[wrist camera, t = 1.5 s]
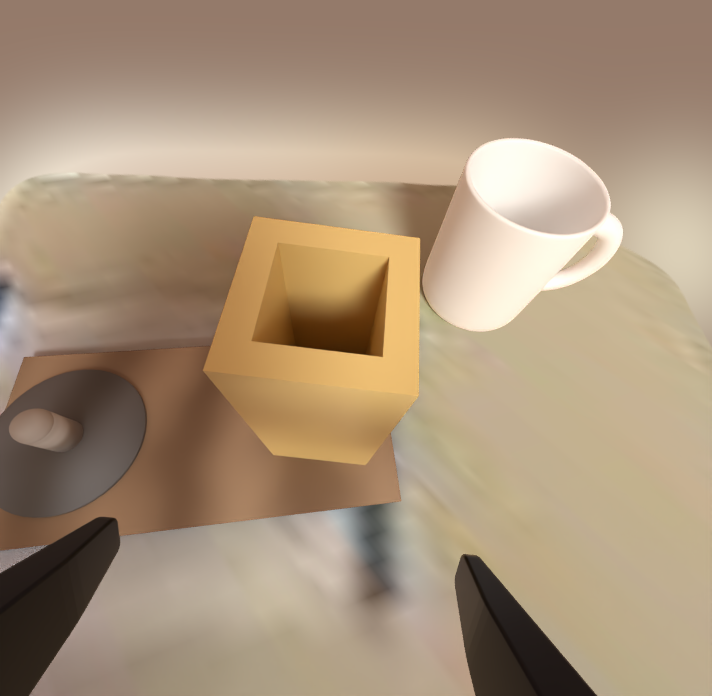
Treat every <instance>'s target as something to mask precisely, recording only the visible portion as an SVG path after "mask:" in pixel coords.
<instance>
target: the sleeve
mask: <svg viewBox="0 0 712 696" xmlns="http://www.w3.org/2000/svg"><path fill="white" fill-rule="evenodd" d="M419 302H420V238H415V237H407V236H399V235H392V234H384V233H377V232H369V231H362V230H354V229H346V228H339V227H331V226H324V225H316V224H309V223H301V222H293V221H286V220H278V219H271V218H263V217H256V216H254V217H253V220H252V223H251V226H250V229H249V232H248V235H247V238H246V241H245V244H244V247H243V251H242V254H241V257H240V260H239V263H238V266H237V269H236V272H235V275H234V278H233V281H232V284H231V287H230V290H229V293H228V296H227V299H226V302H225V305H224V308H223V311H222V314H221V317H220V320H219V323H218V326H217V329H216V332H215V335H214V338H213V341H212V344H211V348H210V351H209V354H208V357H207V360H206V363H205V366H204V369H203V371H204V373H205V374H206V375H207V376H208V377H209V379H210V380H211V381H212V382H213V383H214V385H215V386H216V387H217V388H218V389H219V391H220V392H221V393H222V394H223V395H224V397H225V398H226V399H227V400H228V401H229V403H230V404H231V405H232V406H233V407H234V409H235V410H236V411H237V412H238V413H239V415H240V416H241V417H242V418H243V419H244V421H245V422H246V423H247V424H248V425H249V427H250V428H251V429H252V430H253V431H254V433H255V434H256V435H257V436H258V437H259V439H260V440H261V441H262V442H263V443H264V445H265V446H266V447H267V448H268V449H269V451H270V452H271V453H272V454H273V455H278V456H287V457H296V458H305V459H314V460H323V461H332V462H341V463H350V464H359V465H366V464H367V463H368V461H369V460H370V459H371V458H372V456H373V455H374V454H375V452H376V451H377V450H378V448H379V447H380V446H381V445H382V443H383V442H384V441H385V439H386V438H387V437H388V435H389V434H390V433H391V431H392V430H393V429H394V428H395V426H396V425H397V424H398V422H399V421H400V420H401V418H402V417H403V416H404V414H405V413H406V412H407V411H408V409H409V408H410V407H411V405H412V404H413V403H414V401H415V400H416V399H417V398H418V396H419Z"/></svg>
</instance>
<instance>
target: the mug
mask: <svg viewBox="0 0 712 696" xmlns="http://www.w3.org/2000/svg"><path fill="white" fill-rule="evenodd" d="M610 205H611V203H610V197H609V193H608V191H607V189H606V187H605V185H604V183H603V182H602V180H601V179H600V178H599V176H598V175H597V174H596V173H595V172H594V171H593V170H592V169H591V168H590V167H589V166H587V165H586V164H585V163H584V162H583V161H581V160H580V159H578V158H577V157H575V156H573V155H572V154H570V153H568V152H566V151H564V150H562V149H560V148H557V147H555V146H553V145H550V144H547V143H543V142H539V141H535V140H529V139H522V138H505V139H498V140H493V141H490V142H488V143H485V144H483V145H481V146H480V147H478V148H477V149H476V150H475V151H473V153H472V154H471V155H470V156H469V158H468V160H467V162H466V165H465V167H464V169H463V172H462V175H461V177H460V180H459V182H458V185H457V187H456V190H455V192H454V195H453V197H452V200H451V202H450V205H449V207H448V210H447V212H446V215H445V217H444V220H443V222H442V225H441V227H440V230H439V232H438V235H437V238H436V240H435V243H434V245H433V248H432V250H431V253H430V255H429V258H428V260H427V263H426V266H425V269H424V273H423V279H422V286H423V291H424V295H425V297H426V300H427V301H428V303H429V305H430V306H431V308H432V309H433V310H434V311H435V312H436V313H437V314H438V315H439V316H440V317H441V318H442V319H444V320H445V321H447V322H448V323H450V324H452V325H454V326H456V327H459V328H462V329H465V330H470V331H490V330H494V329H497V328H500V327H502V326H504V325H506V324H507V323H509V322H510V321H511V320H513V319H514V318H515V317H516V316H517V315H518V314H519V313H520V312H521V311H522V310H523V309H524V308H525V307H526V306H527V304H528V303H529V302H530V301H531V300H532V299H533V298H534V297H535V296H536V295H537V294H538V293H539V292H540V291H542V290H553V289H558V288H562V287H566V286H569V285H571V284H574V283H576V282H578V281H580V280H583V279H584V278H586V277H588V276H590V275H591V274H593V273H594V272H596V271H597V270H599V269H600V268H601V267H602V266H603V265H605V264H606V263H607V262H608V261H609V260H610V259H611V258H612V256H613V255H614V254H615V253H616V251H617V249H618V247H619V246H620V244H621V240H622V237H623V228H622V225H621V223H620V221H619V220H618V219H617V218H616V217H615V216H614V215H613V214H612V213H610ZM593 235H594V236H596V237H597V241H596V244H595V245H594V247H593V248H592V250H591V251H590V252H589V253H588V254H587V255H586V256H585V257H583V258H582V259H581V260H579V261H578V262H577V263H575V264H573V265H571V266H569V267H567V268H565V269H562V268H563V266H564V265H565V264H566V263H567V262H568V261H569V260H570V259H571V258H572V257H573V256H574V255H575V254H576V253H577V252H578V251H579V250H580V249H581V248H582V246H583V245H584V244H585V243H586V242H587V241H588V240H589V239H590V238H591V237H592V236H593ZM561 269H562V270H561Z"/></svg>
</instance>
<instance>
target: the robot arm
mask: <svg viewBox="0 0 712 696" xmlns="http://www.w3.org/2000/svg"><path fill="white" fill-rule="evenodd" d="M119 546H120V536H119V527H118V521H117V519H116V518H112V517H97V518H95V519H93V520H92V521H90V522H88V523H86V524H85V525H83V526H81V527H79V528H78V529H76V530H74V531H72V532H71V533H69V534H67V535H66V536H64V537H62V538H60V539H59V540H57V541H55V542H53V543H52V544H50V545H48V546H46V547H45V548H43V549H41V550H40V551H38V552H36V553H34V554H33V555H31V556H29V557H27V558H26V559H24V560H22V561H20V562H19V563H17V564H15V565H14V566H12V567H10V568H8V569H7V570H5V571H3V572H1V573H0V696H29V695H30V693H31V692H32V690H33V689H34V687H35V686H36V684H37V683H38V681H39V680H40V678H41V677H42V675H43V674H44V672H45V671H46V669H47V668H48V666H49V665H50V663H51V662H52V660H53V659H54V657H55V656H56V654H57V653H58V651H59V650H60V648H61V647H62V645H63V644H64V642H65V641H66V639H67V638H68V636H69V635H70V633H71V632H72V630H73V629H74V627H75V626H76V624H77V623H78V621H79V619H80V618H81V616H82V614H83V613H84V611H85V609H86V608H87V606H88V604H89V602H90V600H91V599H92V597H93V595H94V593H95V591H96V590H97V588H98V586H99V584H100V582H101V581H102V579H103V577H104V575H105V573H106V572H107V570H108V568H109V566H110V565H111V563H112V561H113V559H114V557H115V556H116V554H117V552H118V549H119ZM455 589H456V595H457V602H458V608H459V615H460V621H461V628H462V634H463V640H464V647H465V652H466V658H467V662H468V667H469V671H470V675H471V679H472V683H473V687H474V691H475V695H476V696H597V695H596V694H595V693H594V691H593V690H592V689H591V688H590V687H589V686H588V684H587V683H586V682H585V681H584V680H583V678H582V677H581V676H580V675H579V674H578V673H577V671H576V670H575V669H574V668H573V667H572V666H571V664H570V663H569V662H568V661H567V660H566V658H565V657H564V656H563V655H562V654H561V653H560V651H559V650H558V649H557V648H556V647H555V645H554V644H553V643H552V642H551V641H550V640H549V638H548V637H547V636H546V635H545V634H544V633H543V631H542V630H541V629H540V628H539V627H538V625H537V624H536V623H535V622H534V621H533V620H532V618H531V617H530V616H529V615H528V614H527V612H526V611H525V610H524V609H523V608H522V607H521V605H520V604H519V603H518V602H517V601H516V600H515V598H514V597H513V596H512V595H511V594H510V592H509V591H508V590H507V589H506V588H505V587H504V585H503V584H502V583H501V582H500V581H499V579H498V578H497V577H496V576H495V575H494V574H493V572H492V571H491V570H490V569H489V568H488V567H487V565H486V564H485V563H484V562H483V561H482V559H481V558H480V557H478V556H476V555H468V554H463V555H462V556H461V558H460V562H459V565H458V568H457V572H456V575H455Z"/></svg>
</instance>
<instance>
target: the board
mask: <svg viewBox="0 0 712 696" xmlns="http://www.w3.org/2000/svg"><path fill="white" fill-rule="evenodd" d="M210 348H211V346H202V347H186V348H169V349H153V350H136V351H120V352H103V353H87V354H70V355H54V356H37V357H24V359H23V362H22V365H21V367H20V370H19V373H18V376H17V379H16V381H15V384H14V387H13V390H12V393H11V395H10V398H9V401H8V404H7V407H6V409H5V411H4V412H3V413H2V414H1V415H0V551H1V550H9V549H17V548H25V547H34V546H42V545H50V544H52V543H53V542H55V541H57V540H59V539H60V538H62V537H64V536H66V535H67V534H69V533H71V532H72V531H74V530H76V529H78V528H79V527H81V526H83V525H85V524H86V523H88V522H90V521H92V520H93V519H95V518H97V517H112V518H116V519H117V521H118V527H119V536H123V535H131V534H139V533H147V532H155V531H164V530H172V529H180V528H188V527H196V526H204V525H212V524H221V523H229V522H237V521H245V520H253V519H261V518H269V517H277V516H286V515H294V514H302V513H310V512H318V511H326V510H334V509H343V508H351V507H359V506H367V505H375V504H383V503H391V502H399V501H401V496H400V490H399V483H398V477H397V470H396V464H395V458H394V451H393V445H392V439H391V433H390V434H389V435H388V437H387V438H386V439H385V441H384V442H383V443H382V445H381V446H380V447H379V448H378V450H377V451H376V452H375V454H374V455H373V456H372V458H371V459H370V460H369V461H368V463H367V464H366V465H359V464H350V463H341V462H332V461H323V460H314V459H305V458H296V457H287V456H278V455H273V454H272V453H271V452H270V451H269V449H268V448H267V447H266V446H265V445H264V443H263V442H262V441H261V440H260V439H259V437H258V436H257V435H256V434H255V433H254V431H253V430H252V429H251V428H250V427H249V425H248V424H247V423H246V422H245V421H244V419H243V418H242V417H241V416H240V415H239V413H238V412H237V411H236V410H235V409H234V407H233V406H232V405H231V404H230V403H229V401H228V400H227V399H226V398H225V397H224V395H223V394H222V393H221V392H220V391H219V389H218V388H217V387H216V386H215V385H214V383H213V382H212V381H211V380H210V379H209V377H208V376H207V375H206V374H205V373H204V371H203V369H204V366H205V363H206V360H207V357H208V354H209V351H210Z"/></svg>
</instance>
